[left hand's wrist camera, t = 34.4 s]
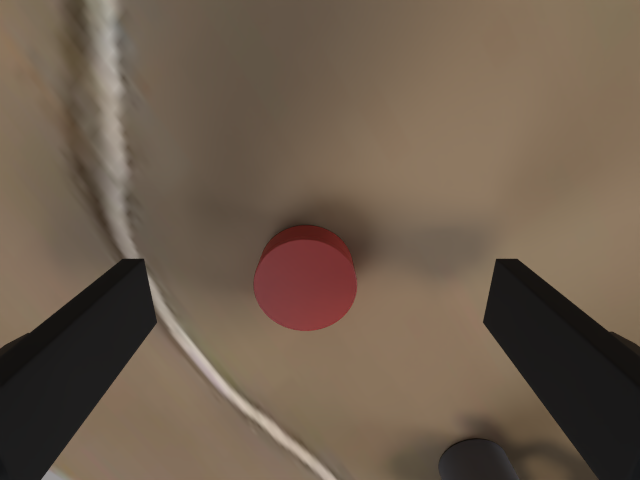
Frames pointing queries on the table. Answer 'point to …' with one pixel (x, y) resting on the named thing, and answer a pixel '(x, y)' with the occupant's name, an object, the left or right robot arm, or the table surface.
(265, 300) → the lid
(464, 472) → the grey upright cylinder
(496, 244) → the table surface
